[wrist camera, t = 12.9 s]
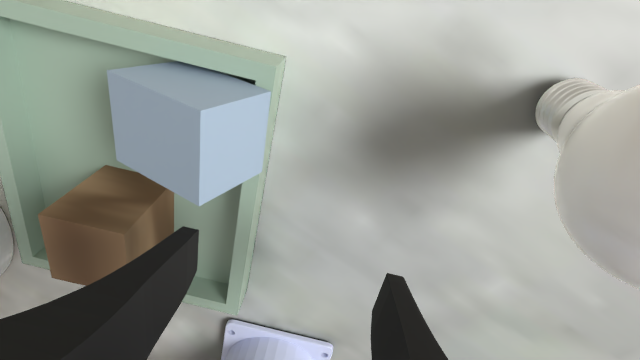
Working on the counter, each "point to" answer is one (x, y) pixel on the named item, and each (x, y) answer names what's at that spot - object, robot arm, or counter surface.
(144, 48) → the tray
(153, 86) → the bluegrey block
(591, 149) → the lightbulb
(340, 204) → the counter surface
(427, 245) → the counter surface
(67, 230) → the walnut block
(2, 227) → the utensil holder
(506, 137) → the counter surface
